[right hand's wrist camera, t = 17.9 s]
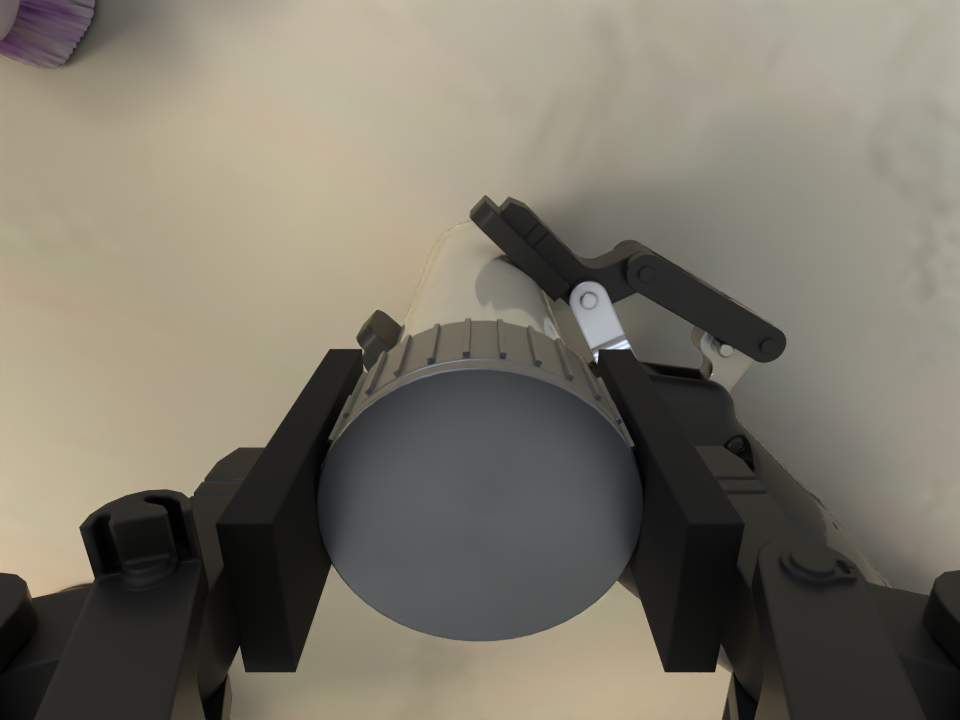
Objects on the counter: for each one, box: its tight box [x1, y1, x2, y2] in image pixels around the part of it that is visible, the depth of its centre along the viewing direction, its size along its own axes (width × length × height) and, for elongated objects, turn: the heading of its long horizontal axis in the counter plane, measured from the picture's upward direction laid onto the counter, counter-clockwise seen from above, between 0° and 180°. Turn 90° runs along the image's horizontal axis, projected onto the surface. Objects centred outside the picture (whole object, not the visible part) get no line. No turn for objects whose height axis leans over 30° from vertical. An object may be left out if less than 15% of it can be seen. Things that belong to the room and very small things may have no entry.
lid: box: [316, 318, 644, 641], centre depth 11 cm, size 6×6×2 cm
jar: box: [395, 221, 565, 346], centre depth 19 cm, size 5×5×16 cm
